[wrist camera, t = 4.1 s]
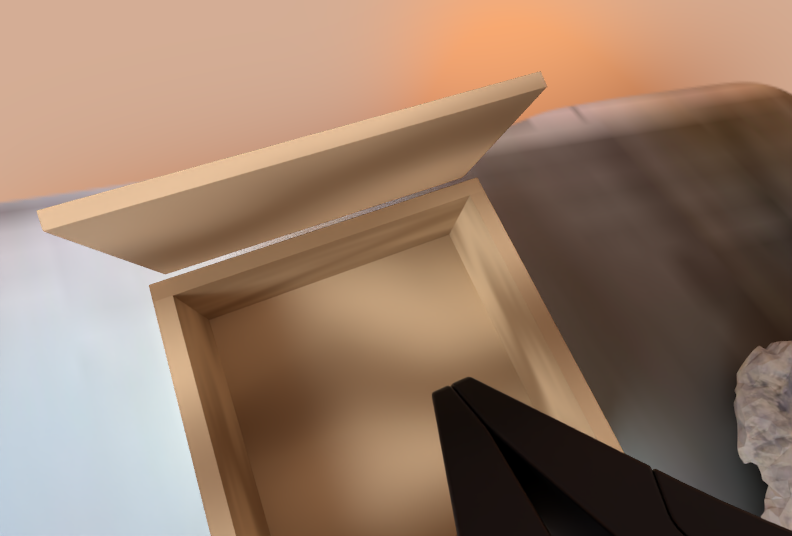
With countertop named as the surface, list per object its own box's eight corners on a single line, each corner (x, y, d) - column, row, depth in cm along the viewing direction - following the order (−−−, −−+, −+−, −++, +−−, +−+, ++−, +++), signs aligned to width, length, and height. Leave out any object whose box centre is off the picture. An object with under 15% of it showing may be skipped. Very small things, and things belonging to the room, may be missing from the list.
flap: (546, 86, 10) (540, 71, 10) (43, 231, 7) (36, 210, 8) (463, 177, 16) (459, 167, 16) (165, 274, 13) (161, 262, 13)
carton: (582, 482, 16) (650, 502, 13) (284, 644, 14) (259, 729, 10) (453, 222, 20) (477, 177, 16) (193, 314, 17) (148, 285, 13)
